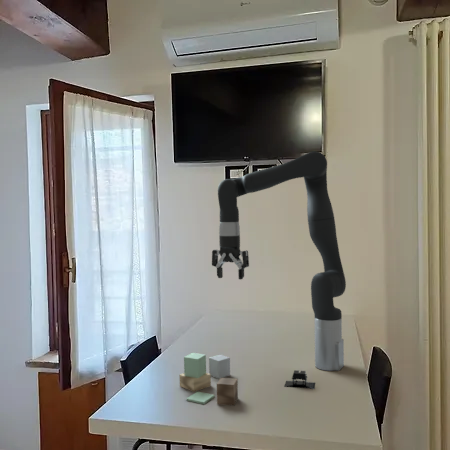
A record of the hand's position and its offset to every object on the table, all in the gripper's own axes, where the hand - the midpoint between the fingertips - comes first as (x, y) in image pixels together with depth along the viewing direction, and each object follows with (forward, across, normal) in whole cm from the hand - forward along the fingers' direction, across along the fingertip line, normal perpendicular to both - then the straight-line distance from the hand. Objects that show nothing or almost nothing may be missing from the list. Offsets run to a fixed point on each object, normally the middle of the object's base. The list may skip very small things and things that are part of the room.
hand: (230, 278), depth 180 cm
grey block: (+30, -4, +16) cm, 34 cm away
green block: (+26, -2, +28) cm, 39 cm away
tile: (+30, -9, +36) cm, 48 cm away
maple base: (+30, -2, +28) cm, 41 cm away
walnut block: (+30, -17, +34) cm, 49 cm away
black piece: (+31, -31, +12) cm, 46 cm away
